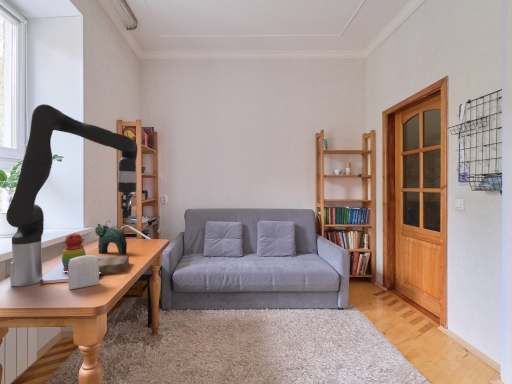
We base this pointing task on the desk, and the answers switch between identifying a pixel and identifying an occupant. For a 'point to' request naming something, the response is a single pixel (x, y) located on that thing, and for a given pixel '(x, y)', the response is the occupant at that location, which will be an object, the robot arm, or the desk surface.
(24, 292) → the desk surface
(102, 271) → the walnut block
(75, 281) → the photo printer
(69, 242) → the stacking bear
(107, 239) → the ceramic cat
